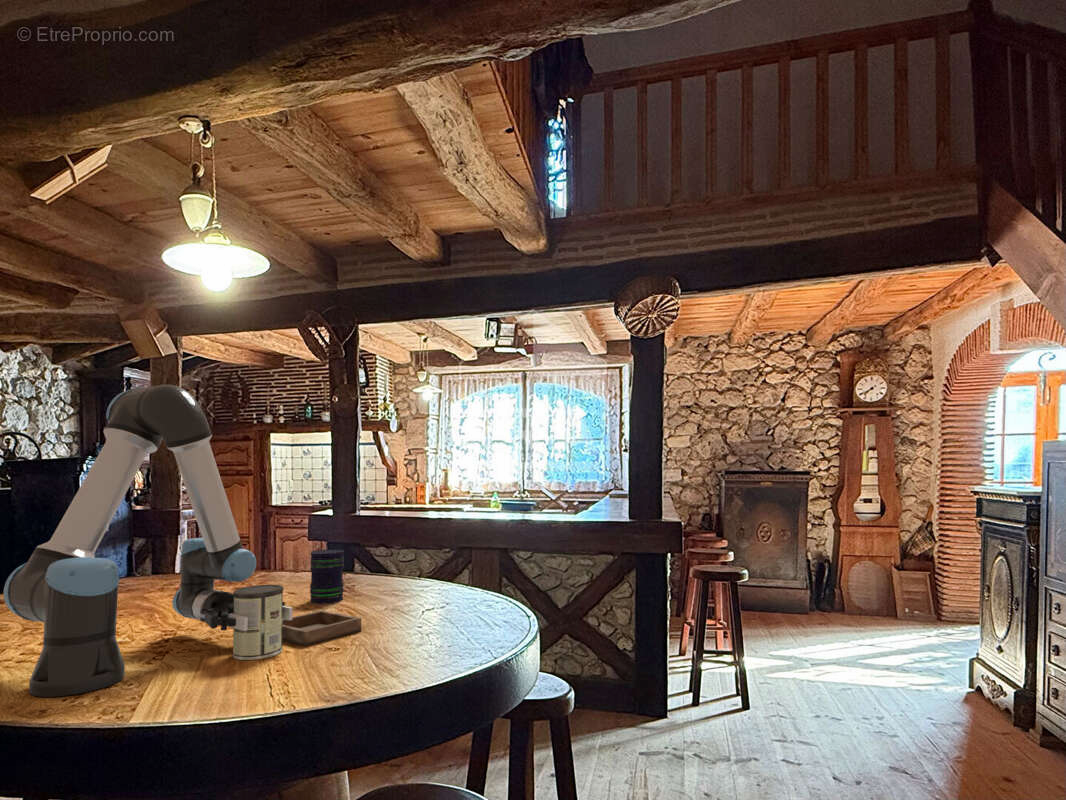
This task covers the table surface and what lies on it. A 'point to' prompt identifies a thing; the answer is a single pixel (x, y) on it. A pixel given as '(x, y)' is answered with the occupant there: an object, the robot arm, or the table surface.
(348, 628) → the wooden tray
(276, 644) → the coffee can
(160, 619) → the table surface
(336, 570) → the dark barrel
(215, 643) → the table surface
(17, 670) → the table surface
